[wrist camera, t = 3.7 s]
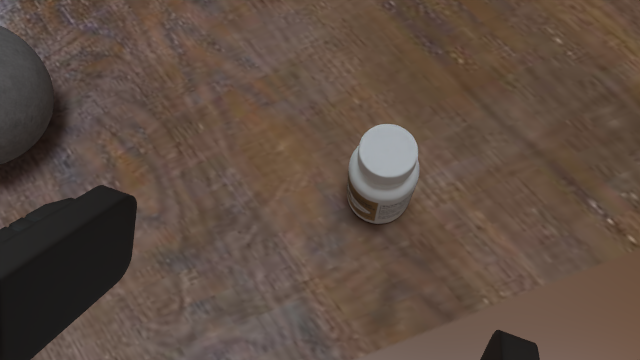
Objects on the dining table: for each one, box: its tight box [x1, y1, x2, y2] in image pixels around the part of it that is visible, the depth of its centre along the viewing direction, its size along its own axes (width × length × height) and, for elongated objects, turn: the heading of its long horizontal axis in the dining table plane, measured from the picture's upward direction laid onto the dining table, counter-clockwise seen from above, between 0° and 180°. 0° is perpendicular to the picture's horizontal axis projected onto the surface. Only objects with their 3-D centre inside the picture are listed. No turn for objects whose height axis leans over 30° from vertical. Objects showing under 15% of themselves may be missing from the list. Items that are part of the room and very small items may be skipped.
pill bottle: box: [347, 124, 419, 224], centre depth 34 cm, size 4×4×8 cm
